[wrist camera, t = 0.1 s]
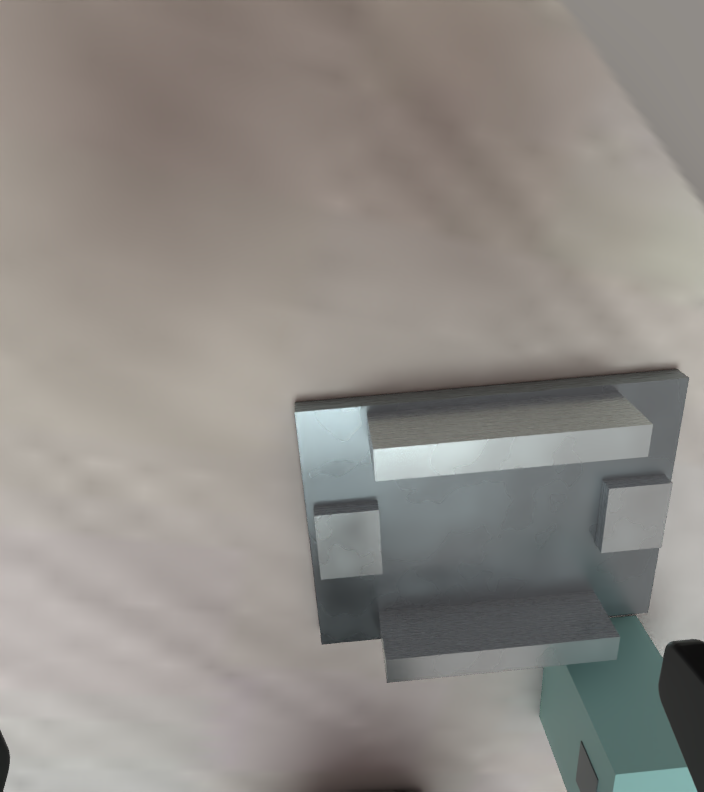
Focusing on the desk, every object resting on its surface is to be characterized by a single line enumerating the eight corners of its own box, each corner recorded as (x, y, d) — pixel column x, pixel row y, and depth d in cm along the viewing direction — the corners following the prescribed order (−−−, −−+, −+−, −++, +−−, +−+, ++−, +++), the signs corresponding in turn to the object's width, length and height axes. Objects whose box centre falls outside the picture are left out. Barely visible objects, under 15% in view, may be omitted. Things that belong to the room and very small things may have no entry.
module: (621, 707, 31) (701, 863, 25) (538, 716, 31) (597, 874, 25) (636, 615, 29) (729, 762, 22) (546, 623, 28) (614, 774, 22)
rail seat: (638, 599, 28) (678, 658, 25) (321, 630, 28) (323, 694, 25) (677, 368, 23) (731, 409, 20) (294, 402, 23) (293, 448, 20)
